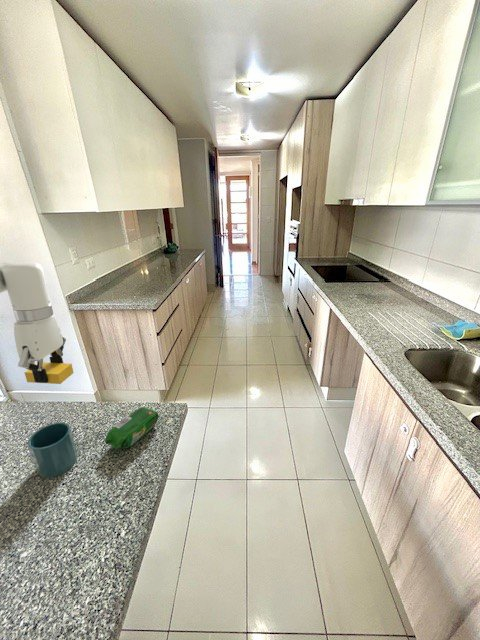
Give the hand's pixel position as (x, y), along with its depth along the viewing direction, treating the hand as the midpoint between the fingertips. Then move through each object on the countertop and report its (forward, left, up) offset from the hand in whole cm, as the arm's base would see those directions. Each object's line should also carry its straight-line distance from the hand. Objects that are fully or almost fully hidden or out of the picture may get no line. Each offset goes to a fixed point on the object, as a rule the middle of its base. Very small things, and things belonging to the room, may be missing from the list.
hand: (50, 375), depth 71 cm
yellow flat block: (0, 0, -1) cm, 1 cm away
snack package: (+22, -3, -17) cm, 28 cm away
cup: (+7, -13, -17) cm, 23 cm away
